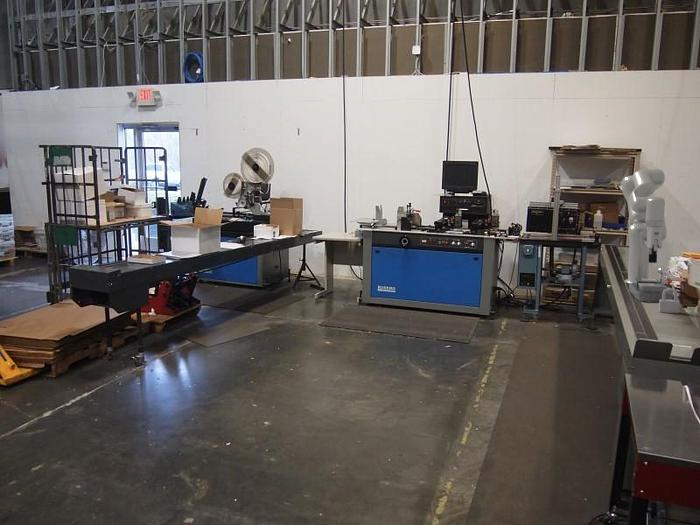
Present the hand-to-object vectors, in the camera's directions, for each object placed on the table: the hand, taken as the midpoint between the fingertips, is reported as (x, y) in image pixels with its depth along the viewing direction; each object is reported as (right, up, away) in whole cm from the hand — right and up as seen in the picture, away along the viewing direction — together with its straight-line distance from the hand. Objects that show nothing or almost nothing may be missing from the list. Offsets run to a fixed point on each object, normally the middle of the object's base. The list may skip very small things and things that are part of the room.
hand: (652, 262), depth 256 cm
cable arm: (+5, -15, -3) cm, 16 cm away
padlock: (-12, -21, -34) cm, 41 cm away
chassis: (-3, -16, -3) cm, 17 cm away
